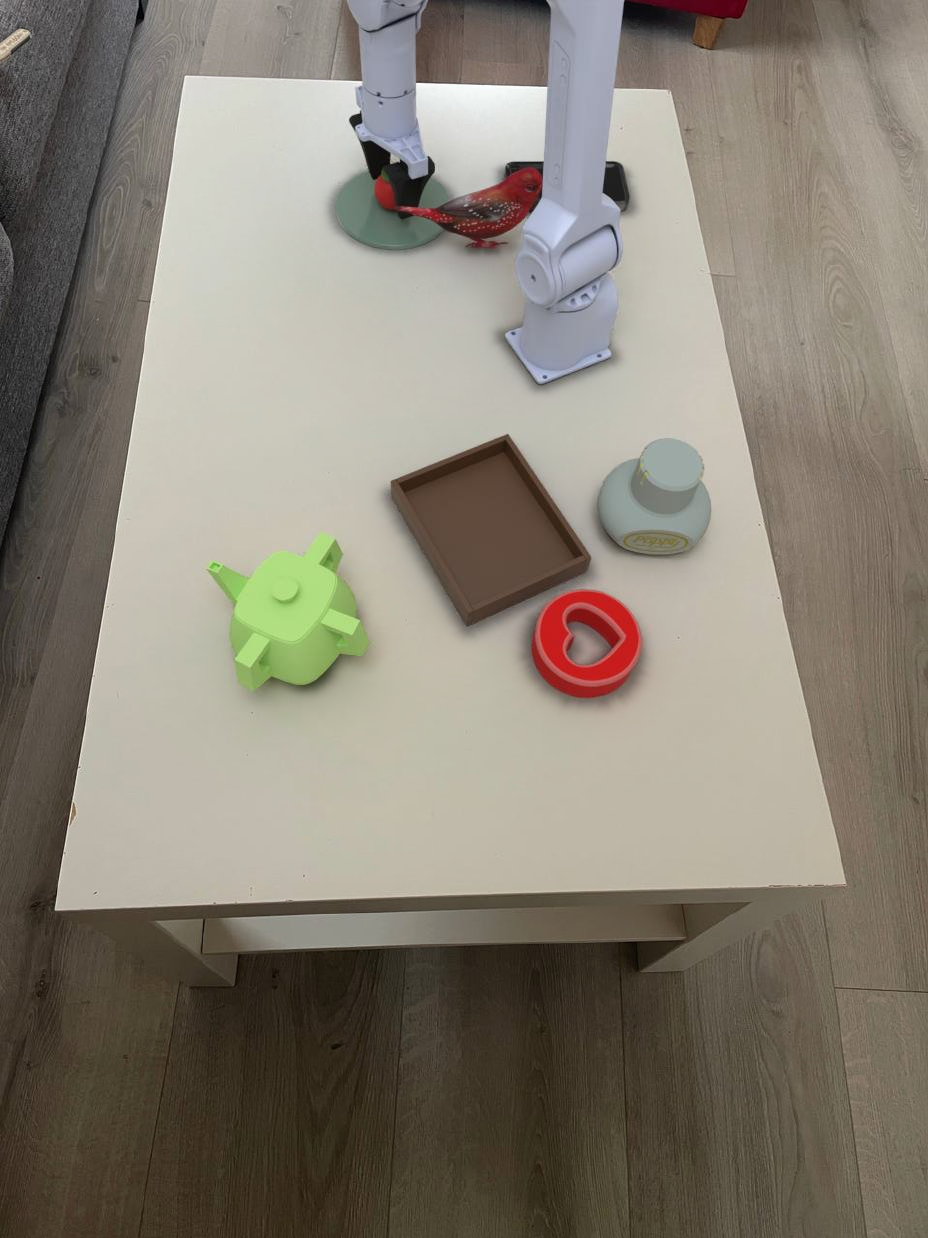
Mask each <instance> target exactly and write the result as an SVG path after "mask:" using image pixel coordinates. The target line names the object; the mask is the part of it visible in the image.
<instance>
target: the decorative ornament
mask: <svg viewBox="0 0 928 1238" xmlns="http://www.w3.org/2000/svg"><path fill="white" fill-rule="evenodd" d="M573 622H574V623H575V622H577V623H581V624H584V625H587V626H588V627H590V628H591V629H593V630H594V631H595V632H597V633H598V634H600V635H601V637H603V638H604V640H605V641H606V642H607V643H608V644H609V646H610V647H611V650H610V651H608V653H606V654H605V655H604V656H603V657H601V659H599V660H597V661H595V662H593V663H589V664H580V663H576V662H574V661H573V660H572V659H571V658H570V657H569V655H568V652H567V651H569V650H571V647H572V645H573V642H574V640H575V637H576V635H574V634H573V632H572V631H571V630H570V629H569V627H568V624H569V623H573ZM533 630H534V631H533V635H532V639H531V656H532V659H533V662H534V665H535V667H536V669H537V671H538V673H539V674H540V676H541V677H542V678H543V679H544V680H545V682H547V684H549V685H550V686H552V687H553V689H556V690H558V691H559V692H561V693H563V694H566V695H568V696H571V697H575V698H580V699H581V698H582V699H591V698H592V699H593V698H597V697H602V696H605V695H609V694H610V693H612V692H614V691H617V689H619V688H620V687H621V686H622V685H624V683H625V682H626V681H627V679H628V678H629V676H630V675H631V673H632V671H633V670H634V667H635V666H636V664H637V662H638V660H639V659H640V655H641V653H642V647H643V637H642V632H641V629H640V625H639V622H638V621H637V619H636V617H635V616H634V614H633V612H632V611H631V610H630V609H629V607H627V605H625V604H624V603H623V602H622V601H620V600H619V599H617V598H616V597H615V596H612V595H611V594H609V593H607V592H605V591H600V590H597V589H587V588H586V589H573V590H569V591H565V592H563V593H560V594H558V595H557V596H555V597H553V598H552V599H551V600H549V601H548V602H547V603H546V604H545V605H544V606H543V608H542V609H541V611H540V613H539V615H538V617H537V620H536V624H535V627H534V629H533Z"/></svg>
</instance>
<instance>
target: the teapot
mask: <svg viewBox="0 0 928 1238" xmlns="http://www.w3.org/2000/svg"><path fill="white" fill-rule="evenodd" d="M343 555H344V553H343V551H342V549H341V546H340V544H339V542H338V541H337V539H336V538H335V537H333V536H331V535H328V534H327V533H324V532H322V531H320V532H319V533H318V534H317V536H316V537H315V539H314V541H313V542H312V543H311V545H310V546H309V548H308V549H307V551H306V552H305V554H304V555H303V556H301V555H299V554H296V553H293V552H290V551H287V550H278V551H275V552H273V553H272V554H271V555H269V556H268V557H267V558H266V559H265V560H264V561H263V562H261V564H260V565H259V566H258V567H257V568H256V570H255V571H254V572H253V573H252V575H250V578H249V577H248V576H247V577H246V576H245V575H243V574H241V573H239V572H237V571H235V570H233V569H231V568H230V567H228V566H225V564H223V563H221V562H219V561H216V560H214V559H212V560H211V561H210V562H209V563H208V564H207V566H206V567H205V570H206V571H207V572H208V573H209V575H210V576H211V577H212V579H213V580H214V581H215V582H216V584H217V585H218V587H219V588H220V589H221V591H222V592H223V593H224V594H225V596H226V597H227V599H229V601H230V603H231V604H232V606H234V608H233V612H232V615H231V619H230V623H229V641H230V645H231V648H232V651H233V653H234V654H235V655H236V656H235V658H234V666H235V673H236V678H237V684H239V685H241V686H242V687H244V688H246V689H249V690H250V691H252V692H254V691H256V690H257V689H258V688H260V686H262V685H263V684H265V682H266V681H268V680H269V679H270V678H271V677H272V678H275V679H278V680H280V681H283V682H286V683H289V684H292V685H297V686H303V685H305V686H306V685H308V684H311V683H313V682H315V681H316V680H318V679H319V678H320V677H321V676H322V675H323V674H324V673H325V672H326V671H327V670H329V668H330V667H331V666H332V665H333V663H334V662H335V661H336V660H337V659H338V658H339V656H340V655H350V656H359V657H364V654H365V653H366V650H367V649H368V647H369V645H370V643H371V640H370V639H369V638H370V637H368V634H367V632H366V629H365V627H364V625H363V623H362V620H361V619H358V618H357V611H358V605H357V600H356V597H355V594H354V592H353V590H352V589H351V587H350V585H349V584H348V582H346V581H345V580H344V579H343V578H342V577H340V575H338V574H337V573H336V572H337V570H338V567H339V565H340V562H341V560H342V557H343Z"/></svg>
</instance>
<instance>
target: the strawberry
mask: <svg viewBox="0 0 928 1238" xmlns="http://www.w3.org/2000/svg"><path fill="white" fill-rule="evenodd" d="M381 173H382V174H381V175H380V176H379V177H378V179H377V180H376V183H375V187H374V192H375V196H376V199H377V201H378V202H379V204H380V205H381V206H383V207H384V208H386V209H389V210H395V209H393V207H396V205H395V199H394V193H393V189H392V186H391V183H390V181H389V179H388V176H387V175H386V173H385V171H384V170H383V169H382V172H381Z"/></svg>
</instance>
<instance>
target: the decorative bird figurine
mask: <svg viewBox="0 0 928 1238" xmlns="http://www.w3.org/2000/svg"><path fill="white" fill-rule="evenodd" d="M542 187H543V179H542V176H541V174H540V173H539V172H538V170H536V169H535V168H524V169H522V170H519V171H517V172H514V173H512V174H511V175H510V176H508V177H507V178H506V179H505V178H504V179H503V180H502V181H501V182H499V183H497V184H495V185H492V186H490V187H487V188H484V189H481V190H477V191H473V192H469V193H467V194H464V195H461V196H459V197H456V198H454V199H452V200H451V199H450V201H449V202H447V203H445V204H443V205H441V206H439V207H437V208H418V207H404V206H401V207H397V206H396V207H393V209H395V210H397V211H401V212H404V213H408V214H412V215H415V216H419V217H423V218H427V219H429V220H431V221H433V222H435V223H436V224H438V225H439V226H440V227H442V228H443V229H444V230H443V231H445V232H447V233H450V234H455V235H458V236H462V237H464V238H467V239H469V240H471V241H473V242H470V243H468V244H466V245H465V246H464V248H467V247H470V248H472V249H473V248H488V249H492V248H495V247H497V246H501V245H507V244H509V242H506V241H503V242H497V241H495V240H490V241H487V240H488V239H493V238H495V237H500V236H502V235H504V234H506V233H508V232H509V231H511V230H513V229H515V228H517V226H518V225H519V224H521V222H523V220H524V219H525V218H526V217H527V215H528V214H529V213H530V211H529V210H530V208H531V207H532V205H533V203H534V202H535V201H536V199H537V197H538V195H539V193H540V191H541V189H542Z"/></svg>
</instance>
